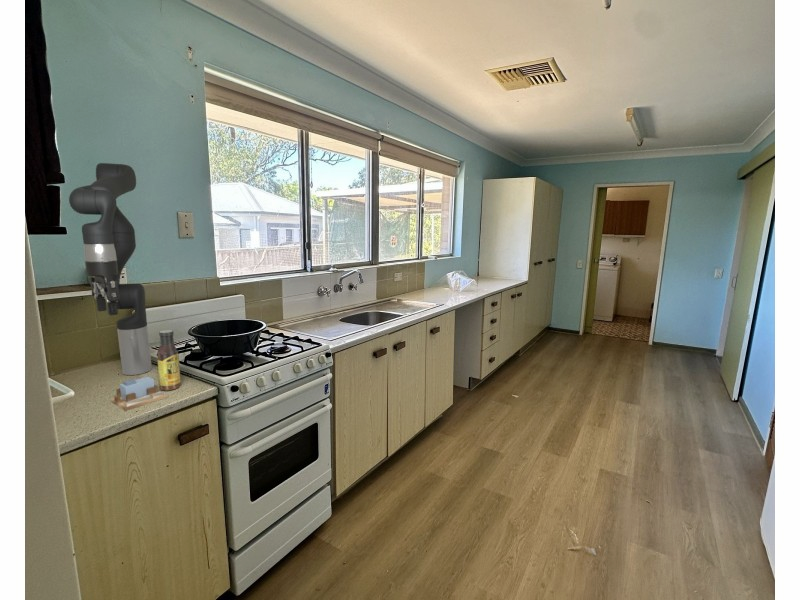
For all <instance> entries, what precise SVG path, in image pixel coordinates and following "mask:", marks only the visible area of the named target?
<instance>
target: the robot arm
mask: <svg viewBox="0 0 800 600" xmlns="http://www.w3.org/2000/svg"><path fill="white" fill-rule="evenodd" d="M95 179H96V180H95V181H93V182H92V183H91V184H90V185H89V184H88V185H84V186H79V187H77V188H75V189H73V190H71V192H70V195H69V196H68V200H69V201H68V202H69V206H70V207H71V209H72V210H73V211H74V212H75V213H77V214H80V215H97V216H98V215H100V216H101V217H100V218H99V220H97V221H94V222H87V223H84V224H83V225H82V226H81V233H82V242H83V257H84V264H85V271H86V275H87V277H90V278H89V280H90V289H91V291H90V292H91V296H92V297H94V299H95V302H96V303H95V304H96V310H97V311H98V312H105V311H107V314H108V315H109V316H116V315H118V314H119V313H118V312H119V310H133V311H134V312H132V314H129V315H128V316H125V317H121V318H120V319H117V321H116V330H117V338H118V339H117V340H118V347H119V353H120V354H119V355H120V362H121V371H122V375H126V376H135V375H141V374H145V373H147V372H149V371H151V370H152V369H153V368H152V358H151V357H152V356H151V348H150V339H149V338H150V337H149V330H148V329H149V328H148V319H147V309H146V308H147V307H146V291H145V288H144V285H143V284H141V283H137V282H136V283H120V280H121V275H122V272H123V271H124V270H123V269H124V268H125V266H126V264H127V263H128V261H129V260H130V259H131V257H132V256H133V254H134V252H135V250H136V246H137V244H136V243H137V242H136V233H135V232H136V231H135V228H134V226H133V225H132V223H131V221H129V219H128V218H127V217H126V215H124V213H123V212H122V210H120V208H119V207H118V206H117V199H118V198H119V197H120V196H122V195H125V194H126V193H130V192H132V191H135V190H134V189H136V186H137V176H136V171H135V170H134V168H133V167H131V165H128V164H124V163H109V162H99V163H98V164H97V165H96V166H95Z"/></svg>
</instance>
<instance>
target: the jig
mask: <svg viewBox="0 0 800 600" xmlns="http://www.w3.org/2000/svg"><path fill="white" fill-rule="evenodd" d="M146 390H147V395H145V396H142V397H139V398H136V393H130V394H127V395H126V400H124V399H122V398H121V391H120V387H119V388H115V392H116V395H113V397H110V399H109V401H110V402H111V403H113V404H114V405H116V406H117V407H118V408H120V409H122V410H123V411H124V412H127V411H129V410H134V409H135V408H139V407H142V406H145V405H148V404H151V403H154V402H157V401H161V400H164V399H166V398H167V394H165V393H163V392H162V390H161V391H160V390H159V388H158V385H155V384H154V387H150V388H147V389H146ZM163 398H164V399H163ZM160 399H161V400H160Z"/></svg>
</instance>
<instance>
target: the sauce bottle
mask: <svg viewBox="0 0 800 600" xmlns="http://www.w3.org/2000/svg"><path fill="white" fill-rule="evenodd" d="M158 333H159V338H160V342H159V343H160V346H159V348H158V350H157V352H156V354H157V360H156V362H157V371H158V385H159V390H161V391H164V392H165V391H167V392H168V391H173V390H176V389H178V388H180V386H181V371H180V358H179V357H180V356H179V354H180V353H179V351H178V350H177V348H176V345H175V343H174V330H173V329H163V330H160V331H159V332H158Z"/></svg>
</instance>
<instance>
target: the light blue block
mask: <svg viewBox="0 0 800 600" xmlns="http://www.w3.org/2000/svg"><path fill="white" fill-rule="evenodd" d="M154 385H155V380H154V379H153V378H152V377H150V376H145V377H142V378H138V379H137V378H136V379H134V378H130V379H126V380H123V381H122V383H120V384H119V388H120V391H121V398H122V399H124V400H126V395H127V394H130V393H136V398H139V397H142V396H145V395H147V390H146V389H147V388H150V387H154Z"/></svg>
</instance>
